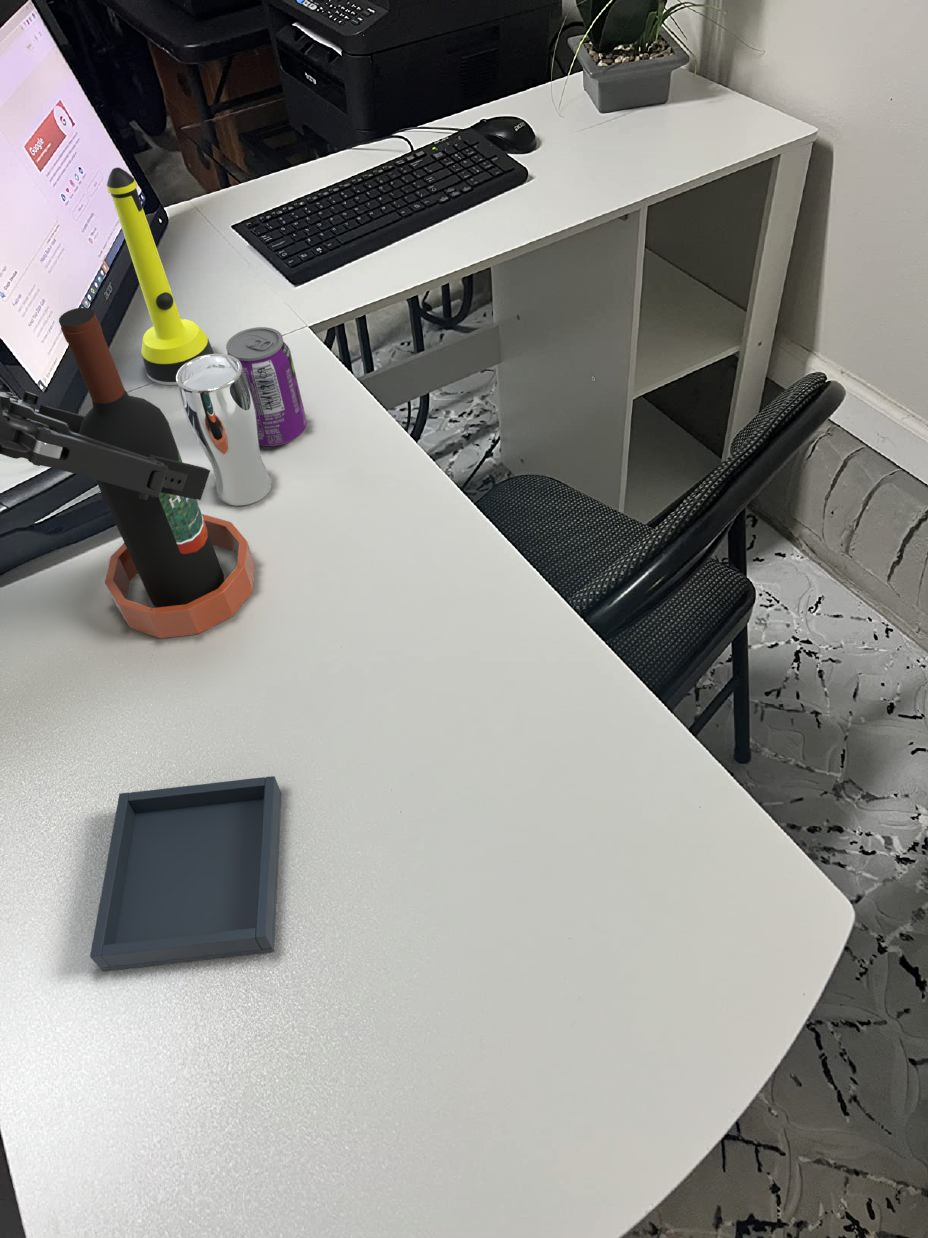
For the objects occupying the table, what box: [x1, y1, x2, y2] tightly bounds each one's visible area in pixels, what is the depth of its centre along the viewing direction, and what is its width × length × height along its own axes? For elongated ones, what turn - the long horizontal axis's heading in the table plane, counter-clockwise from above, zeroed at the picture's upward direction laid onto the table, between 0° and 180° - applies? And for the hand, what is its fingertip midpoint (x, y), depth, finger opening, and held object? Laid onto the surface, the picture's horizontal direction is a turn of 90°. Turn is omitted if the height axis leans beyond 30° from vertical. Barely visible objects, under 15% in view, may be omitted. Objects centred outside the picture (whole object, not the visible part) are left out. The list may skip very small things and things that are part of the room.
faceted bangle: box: [104, 513, 256, 639], centre depth 96 cm, size 14×14×4 cm
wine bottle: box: [58, 307, 225, 608], centre depth 86 cm, size 8×8×30 cm
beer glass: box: [176, 353, 273, 507], centre depth 101 cm, size 7×7×15 cm
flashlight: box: [106, 167, 215, 386], centre depth 115 cm, size 25×9×9 cm
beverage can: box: [225, 326, 308, 447], centre depth 109 cm, size 7×7×12 cm
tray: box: [89, 775, 282, 972], centre depth 74 cm, size 13×14×3 cm
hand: (149, 459), depth 86 cm, fingers open, 13 cm apart
